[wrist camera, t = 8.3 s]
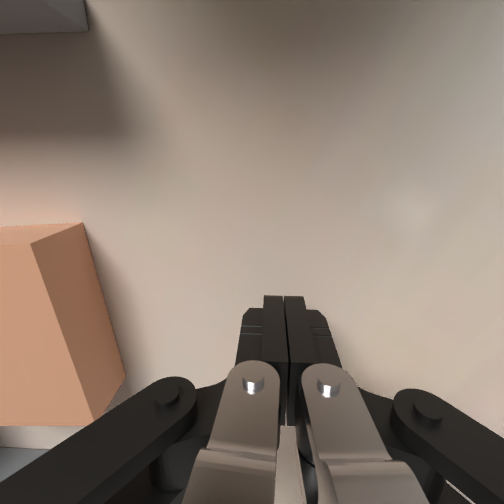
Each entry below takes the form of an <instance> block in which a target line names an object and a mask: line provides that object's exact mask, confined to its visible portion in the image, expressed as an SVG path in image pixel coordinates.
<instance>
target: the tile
mask: <svg viewBox="0 0 504 504" xmlns="http://www.w3.org/2000/svg"><path fill="white" fill-rule="evenodd" d="M125 378H126V374H125V371H124V367H123V364H122V360H121V357H120V353H119V350H118V346H117V343H116V339H115V336H114V332H113V329H112V325H111V321H110V318H109V314H108V311H107V307H106V304H105V300H104V297H103V293H102V290H101V286H100V283H99V279H98V276H97V272H96V269H95V265H94V261H93V258H92V254H91V251H90V247H89V244H88V240H87V237H86V233H85V230H84V226H83V223H65V224H46V225H28V226H9V227H0V426H87V425H89V424H91V423H92V422H94V421H95V420H97V419H98V418H100V417H101V416H102V415H103V413H104V412H105V410H106V408H107V407H108V405H109V404H110V402H111V400H112V399H113V397H114V396H115V394H116V392H117V391H118V389H119V387H120V386H121V384H122V383H123V381H124V379H125Z"/></svg>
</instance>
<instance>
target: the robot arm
mask: <svg viewBox="0 0 504 504" xmlns="http://www.w3.org/2000/svg"><path fill="white" fill-rule="evenodd" d="M285 414H286V416H287V426H295V427H296V438H297V440H296V460H297V467H298V473H299V480H300V486H301V492H302V499H303V504H471V503H470V502H469V501H468V500H467V499H465V498H464V497H463V496H462V495H461V494H459V493H458V492H457V491H456V490H455V489H453V488H452V487H451V486H450V485H449V484H447V483H446V480H448V481H449V482H450V483H451V484H453V485H454V486H455V487H456V488H457V489H459V490H460V491H461V492H462V493H463V494H465V495H466V496H467V497H468V498H469V499H471V500H472V501H473V502H474V503H475V504H504V438H502V437H500V436H499V435H497V434H496V433H494V432H493V431H491V430H489V429H488V428H486V427H485V426H483V425H482V424H480V423H478V422H477V421H475V420H474V419H472V418H471V417H469V416H467V415H466V414H464V413H463V412H461V411H460V410H458V409H456V408H455V407H453V406H452V405H450V404H449V403H447V402H445V401H444V400H442V399H441V398H439V397H437V396H436V395H433V394H431V393H429V392H426V391H423V390H419V389H404V390H401V391H399V392H398V393H397V394H396V395H395V397H394V400H392V399H388V398H385V397H382V396H379V395H375V394H372V393H369V392H367V391H365V390H363V389H361V388H359V387H358V386H357V385H356V383H355V381H354V379H353V378H352V377H351V375H350V374H348V373H347V372H346V371H345V370H343V369H342V366H341V363H340V360H339V357H338V354H337V351H336V348H335V345H334V341H333V338H332V335H331V332H330V330H329V326H328V323H327V320H326V318H325V317H324V316H323V315H322V314H321V313H320V312H319V311H318V310H306V306H305V302H304V297H303V296H284V301H283V296H268V295H264V305H263V308H249V309H248V310H247V312H246V313H245V314H244V315H243V319H242V326H241V331H240V337H239V343H238V350H237V356H236V362H235V366H234V367H233V368H232V369H231V371H230V372H229V374H228V376H227V378H226V379H225V380H223V381H221V382H220V383H217V384H215V385H212V386H208V387H204V388H199V389H195V387H194V385H193V384H192V383H191V382H190V381H189V380H188V379H185V378H182V377H166V378H163V379H160V380H158V381H156V382H154V383H152V384H151V385H149V386H148V387H146V388H144V389H143V390H141V391H140V392H138V393H137V394H135V395H134V396H132V397H131V398H129V399H128V400H126V401H124V402H123V403H121V404H120V405H118V406H117V407H115V408H114V409H112V410H111V411H109V412H107V413H106V414H104V415H103V416H101V417H100V418H98V419H97V420H95V421H94V422H92V423H91V424H89V425H87V426H86V427H84V428H83V429H81V430H80V431H78V432H77V433H75V434H74V435H72V436H71V437H69V438H67V439H66V440H64V441H63V442H61V443H60V444H58V445H57V446H55V447H54V448H52V449H51V450H49V451H47V452H46V453H44V454H43V455H41V456H40V457H38V458H37V459H35V460H34V461H32V462H31V463H29V464H27V465H26V466H24V467H23V468H21V469H20V470H18V471H17V472H15V473H14V474H12V475H11V476H9V477H7V478H6V479H4V480H3V481H1V482H0V504H274V496H275V476H276V456H277V450H278V448H279V442H280V425H284V426H285Z"/></svg>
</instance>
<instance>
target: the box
mask: <svg viewBox="0 0 504 504" xmlns="http://www.w3.org/2000/svg"><path fill="white" fill-rule="evenodd" d="M85 31H89V30H88V24H87V18H86V12H85V7H84V1H83V0H0V34H21V33H53V32H85ZM47 451H49V450H41V449H21V448H2V447H0V482H1V481H3V480H4V479H6V478H7V477H9V476H11V475H12V474H14V473H15V472H17V471H18V470H20V469H21V468H23V467H24V466H26V465H27V464H29V463H31V462H32V461H34V460H35V459H37V458H38V457H40V456H41V455H43V454H44V453H46V452H47Z"/></svg>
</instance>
